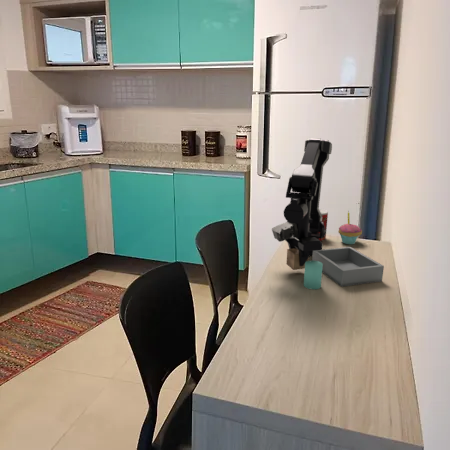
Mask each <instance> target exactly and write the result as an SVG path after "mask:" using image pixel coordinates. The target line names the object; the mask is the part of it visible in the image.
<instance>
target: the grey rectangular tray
mask: <svg viewBox="0 0 450 450" xmlns="http://www.w3.org/2000/svg"><path fill="white" fill-rule="evenodd" d="M311 256H312V260H313V261H319V262H321V263H322V264H323V267H322V274H324V275H325V276H326V277H328V278H329V279H330V280H332V281H333V282H334V283H336V284H338V286H340V287H342V288H343V287H350V286H356V285H357V286H358V285H365V284H372V283H378V282H380V283H381V282H383V276H384V268H385V266H384V265H383V264H381V263H380V262H377V260H374V259H373V258H371V257H369V256H367V255H366V254H364V253H362V252H360V251H359V250H357V249H355V248H353V247H351V246H344V247H335V248H322V250H315V251H313V255H311Z"/></svg>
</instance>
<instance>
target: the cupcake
mask: <svg viewBox="0 0 450 450" xmlns="http://www.w3.org/2000/svg"><path fill="white" fill-rule="evenodd" d="M350 222H351V221H350V212H349V210H347V223H344V224H342V225H341V226H339V227H338V234H339V235H340V238H341V242H342V243H344V244H346V245H354V244H355V243H356V241H357V239H358V237H359V236H361V235H362V233H363V230H362V228H361V227H359V226H358V225H356V224H353V223H352V224H351V223H350Z"/></svg>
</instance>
